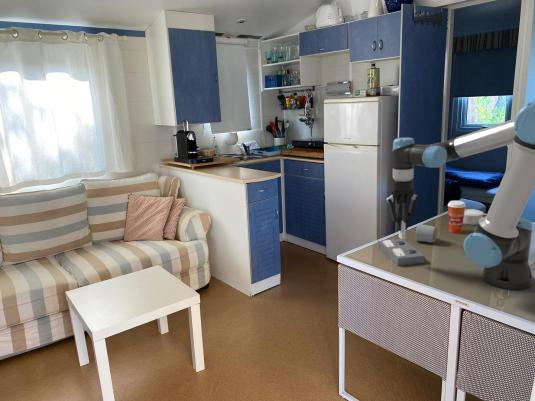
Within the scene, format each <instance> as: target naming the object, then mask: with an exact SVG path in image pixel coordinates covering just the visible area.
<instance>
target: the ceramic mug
mask: <svg viewBox="0 0 535 401" xmlns="http://www.w3.org/2000/svg"><path fill="white" fill-rule="evenodd" d="M437 236H438V229H437V227H435V226H433V225H427V224H422V223H418V224H417V226H416V229H415V241H416V242H417V241H418V242H421V243H424V242H425V243H430V244H431V243H433V244H434V243H436V240H437Z"/></svg>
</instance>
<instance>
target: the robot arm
mask: <svg viewBox="0 0 535 401" xmlns="http://www.w3.org/2000/svg"><path fill="white" fill-rule="evenodd" d="M512 144H513V145H515V148H514V152H513V154H512V156H511V158H510V161H509V163H508V165H507V167H506V169H505V172H504V174H503V177H502V179H501V181H500V184H499V186H498V188H497V190H496V193H495V195H494V198H493V200H492V202H491V205H490V207H489V209H488V211H487V214H486V216H483V217H482V218H480V219H479V221H478V224H477V225H476V226H475V229H474V231H473V232H472V233H469V234H468V235H467V236H466V238H464V240H463V246H462V247H463V251H464V253H465V256H466V258H468V260H469V261H470V262H471V263H473V264H474V265H475V266H478V267H481V268H483V269H482V279H483V280H484V281H485V282H486V283H488V284H489V285H492V286H494V287H497V288H500V289H506V290H512V291H513V290H525V289H528V288H531V287H532V286H533V278H534V277H533V275H532V271H531V267H530V264H529V260H530V249H531V241H532V232H533V228H532V227H533V224H532V221H531V220H530V219H527V218H525V217H522V214H523V213H524V211H525V209H526V206H527V205H528V202H529V201H530V198H531V196H532V194H533V192H534V189H535V99H534V100H532V101H530V102H528V103H526V104H525V105H523V106H522V107H521V108H520V110H518V112H517V114H516V115H515V118H513V119H509V120H506V121H503V122H500V123H498V124H494V125H492V126H489V127H485V128H482V129H479V130H475V131H473V132H470V133H466V134H464V135H460V136H457V137H454V138H451V139H448V140H444V141H441V142H436V143H431V144H418V143H417V144H416V143H415V139H414V138H413V137H398V138H395V139H394V140H393V143H392V151H391V152H392V185H391V188H392V192H391V195H390V196H389V197H385V201H386V202H387V205H388V208H389V209H388V210H389V213H390V216H391V217H390V218H391V220H392V221H393V222H395V223H396V230H397V231H398V239H403V240H406V231H407V230H408V226H409V225H408V224H409V222H410V221H413V219H414V215H415V211H416V208H417V203H418V201H419V199H420V196H419V195H417V194H415V192H414V190H413V189H414V180H413V179H414V173H415V172H414V168H415V166H419V167H424V168H425V167H426V168H431V169H432V168H442V167H443V165H445V163H448V162H452V161H457V160H458V159H463V158H465V157H468V156H472V155H473V156H474V155H477V154H479V153H484V152H487V151H492V150H495V149H498V148H503V147H505V146H509V145H510V146H511V145H512ZM394 201H395V205H396V206H395V205H394ZM395 207H396V208H395Z"/></svg>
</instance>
